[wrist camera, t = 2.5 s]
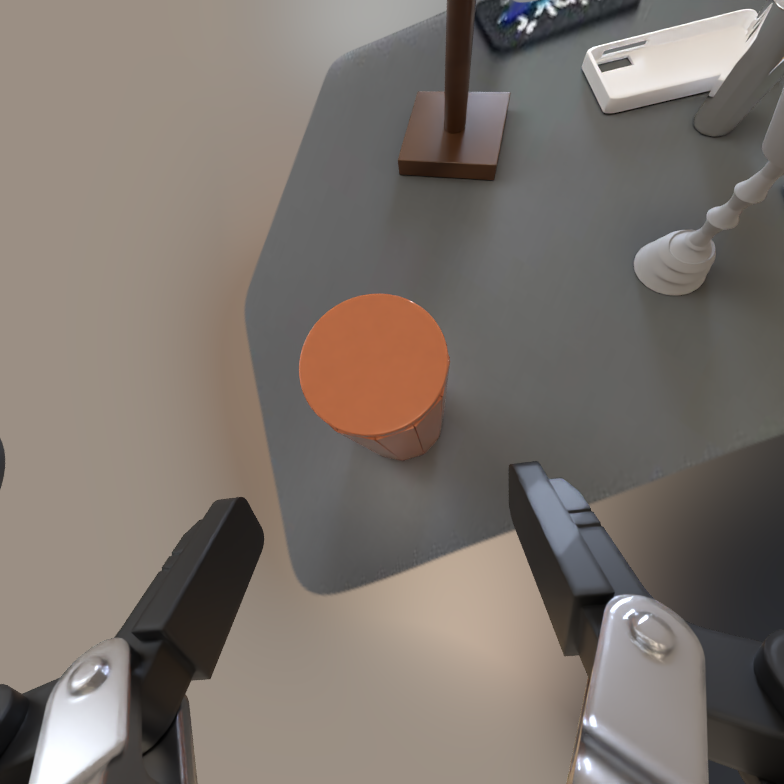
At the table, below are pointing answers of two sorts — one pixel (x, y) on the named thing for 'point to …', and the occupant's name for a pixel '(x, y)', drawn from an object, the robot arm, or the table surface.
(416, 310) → the cup
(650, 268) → the chalice
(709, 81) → the phone case
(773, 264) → the table surface
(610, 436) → the table surface
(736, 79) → the milkshake
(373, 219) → the table surface
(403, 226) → the table surface
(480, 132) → the stand
